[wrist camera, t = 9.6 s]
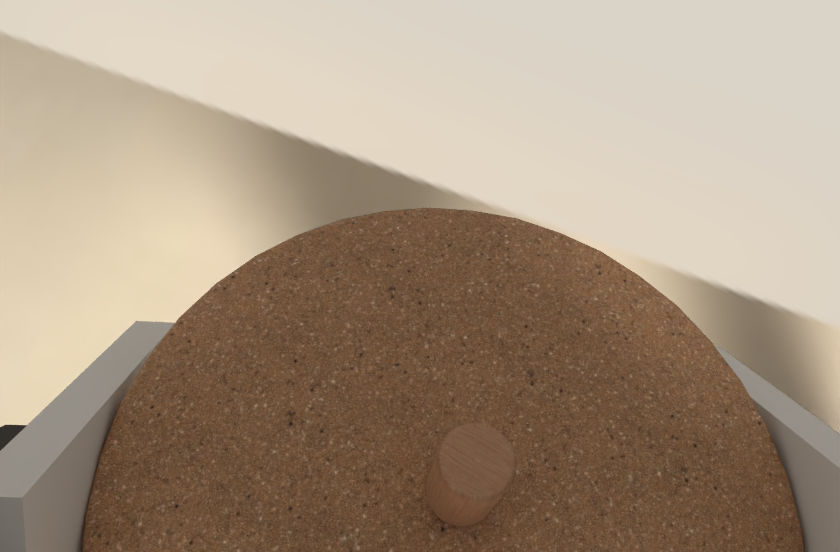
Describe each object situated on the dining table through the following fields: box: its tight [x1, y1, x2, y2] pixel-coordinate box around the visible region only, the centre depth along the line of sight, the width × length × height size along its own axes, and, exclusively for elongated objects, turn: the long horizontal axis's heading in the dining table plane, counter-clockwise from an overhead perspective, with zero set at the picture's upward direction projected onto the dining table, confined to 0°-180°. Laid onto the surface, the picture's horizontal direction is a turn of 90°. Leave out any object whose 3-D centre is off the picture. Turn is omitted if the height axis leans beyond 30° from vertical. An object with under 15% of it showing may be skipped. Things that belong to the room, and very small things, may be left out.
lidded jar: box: [81, 208, 805, 552], centre depth 13 cm, size 11×11×9 cm
